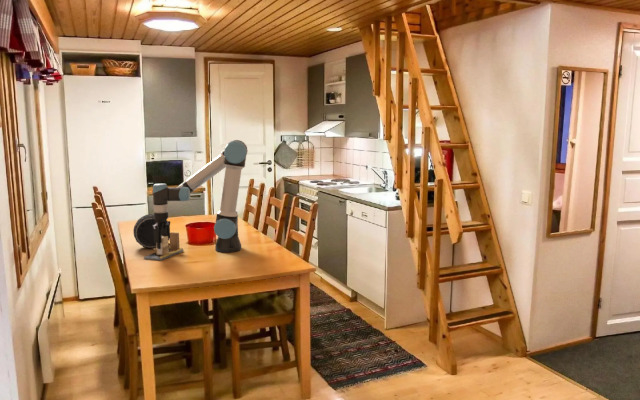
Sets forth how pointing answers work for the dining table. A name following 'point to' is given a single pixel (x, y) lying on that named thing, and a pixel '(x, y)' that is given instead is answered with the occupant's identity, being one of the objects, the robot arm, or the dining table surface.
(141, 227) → the dark studded bowl
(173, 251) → the grey board with posts
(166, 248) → the block
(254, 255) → the dining table surface
